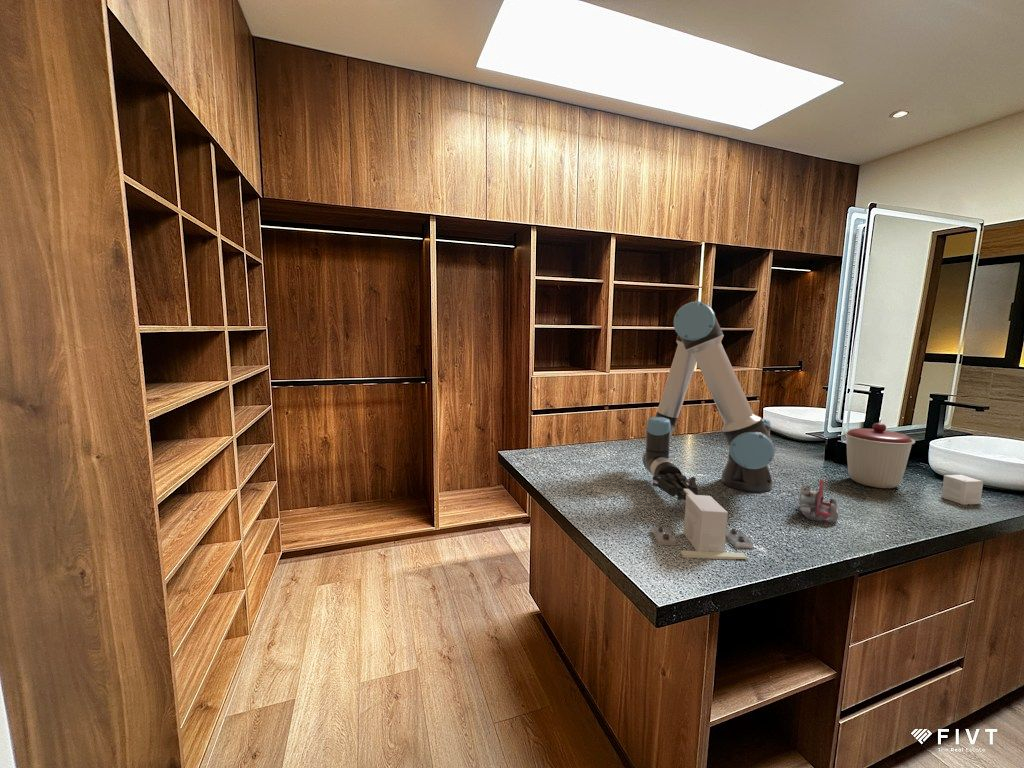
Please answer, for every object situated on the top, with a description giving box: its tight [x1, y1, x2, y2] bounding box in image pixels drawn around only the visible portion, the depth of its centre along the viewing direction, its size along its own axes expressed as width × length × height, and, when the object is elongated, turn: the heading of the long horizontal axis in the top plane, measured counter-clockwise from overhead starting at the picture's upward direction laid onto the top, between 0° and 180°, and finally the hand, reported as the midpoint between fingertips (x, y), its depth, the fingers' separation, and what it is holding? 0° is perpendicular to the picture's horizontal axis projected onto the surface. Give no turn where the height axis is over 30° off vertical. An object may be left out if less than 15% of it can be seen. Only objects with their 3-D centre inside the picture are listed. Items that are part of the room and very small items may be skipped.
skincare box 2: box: [941, 474, 984, 506], centre depth 129 cm, size 6×6×7 cm
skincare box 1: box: [683, 494, 729, 552], centre depth 102 cm, size 10×6×10 cm, turn 176°
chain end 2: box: [726, 528, 754, 549], centre depth 104 cm, size 4×7×2 cm, turn 176°
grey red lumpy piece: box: [796, 478, 840, 524], centre depth 118 cm, size 11×11×12 cm
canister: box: [844, 422, 916, 489], centre depth 143 cm, size 18×18×21 cm
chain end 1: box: [651, 526, 677, 546], centre depth 105 cm, size 4×7×2 cm, turn 176°
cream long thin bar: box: [680, 550, 748, 561], centre depth 97 cm, size 14×2×1 cm, turn 86°
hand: (694, 502), depth 110 cm, fingers closed
